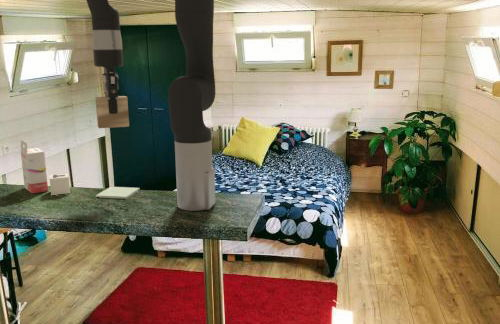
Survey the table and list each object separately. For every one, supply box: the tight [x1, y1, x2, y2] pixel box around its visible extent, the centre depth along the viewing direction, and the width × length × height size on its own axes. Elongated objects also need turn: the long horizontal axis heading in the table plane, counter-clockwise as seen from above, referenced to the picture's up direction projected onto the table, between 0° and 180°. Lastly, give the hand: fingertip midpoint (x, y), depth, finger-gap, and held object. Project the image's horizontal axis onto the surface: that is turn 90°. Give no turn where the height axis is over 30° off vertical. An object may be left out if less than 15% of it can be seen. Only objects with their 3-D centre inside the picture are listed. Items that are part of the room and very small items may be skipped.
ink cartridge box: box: [20, 139, 49, 194], centre depth 142 cm, size 9×5×15 cm, turn 37°
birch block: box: [94, 95, 130, 129], centre depth 133 cm, size 4×8×8 cm, turn 111°
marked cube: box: [49, 173, 71, 197], centre depth 139 cm, size 5×5×5 cm
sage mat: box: [95, 186, 141, 200], centre depth 138 cm, size 9×9×1 cm
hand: (112, 112), depth 133 cm, fingers closed on birch block, 4 cm apart
